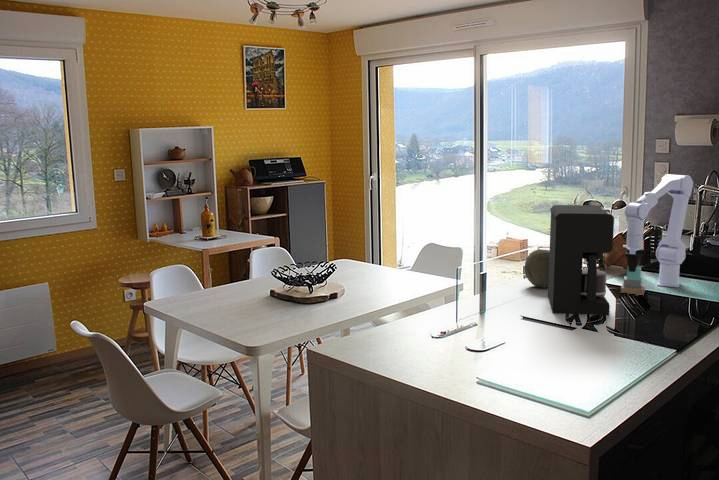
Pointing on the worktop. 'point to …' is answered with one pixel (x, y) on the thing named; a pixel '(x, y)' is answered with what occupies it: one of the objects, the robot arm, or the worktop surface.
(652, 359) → the worktop surface
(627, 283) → the grey square block
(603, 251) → the coffee maker
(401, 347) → the worktop surface
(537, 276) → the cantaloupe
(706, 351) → the worktop surface
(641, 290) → the walnut slab
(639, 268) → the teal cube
